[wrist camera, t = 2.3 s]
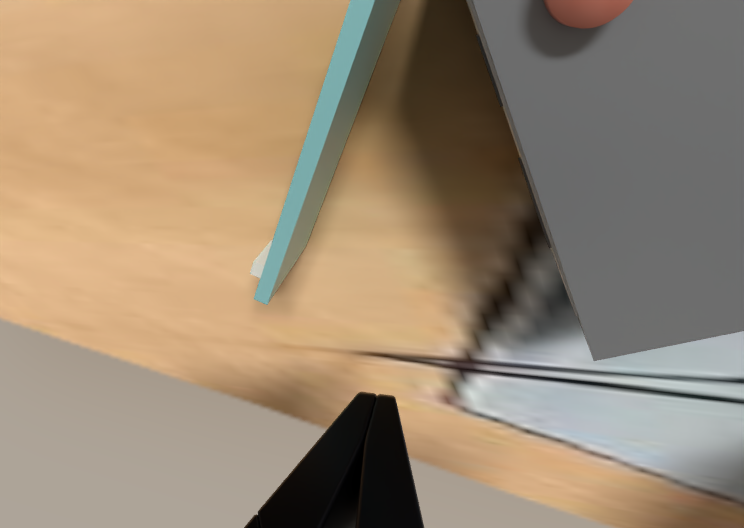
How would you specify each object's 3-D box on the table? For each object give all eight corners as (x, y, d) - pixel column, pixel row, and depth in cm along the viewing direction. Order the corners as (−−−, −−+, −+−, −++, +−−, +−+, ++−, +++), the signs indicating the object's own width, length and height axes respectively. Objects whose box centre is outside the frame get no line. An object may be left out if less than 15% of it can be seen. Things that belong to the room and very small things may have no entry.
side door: (392, -94, 12) (358, -142, 8) (434, -72, 12) (420, -109, 8) (282, 233, 18) (234, 292, 14) (310, 246, 18) (270, 308, 14)
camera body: (818, 198, 14) (1009, 299, 9) (557, 272, 17) (594, 377, 12) (801, -361, 8) (1230, -830, 4) (427, -104, 11) (402, -181, 7)
